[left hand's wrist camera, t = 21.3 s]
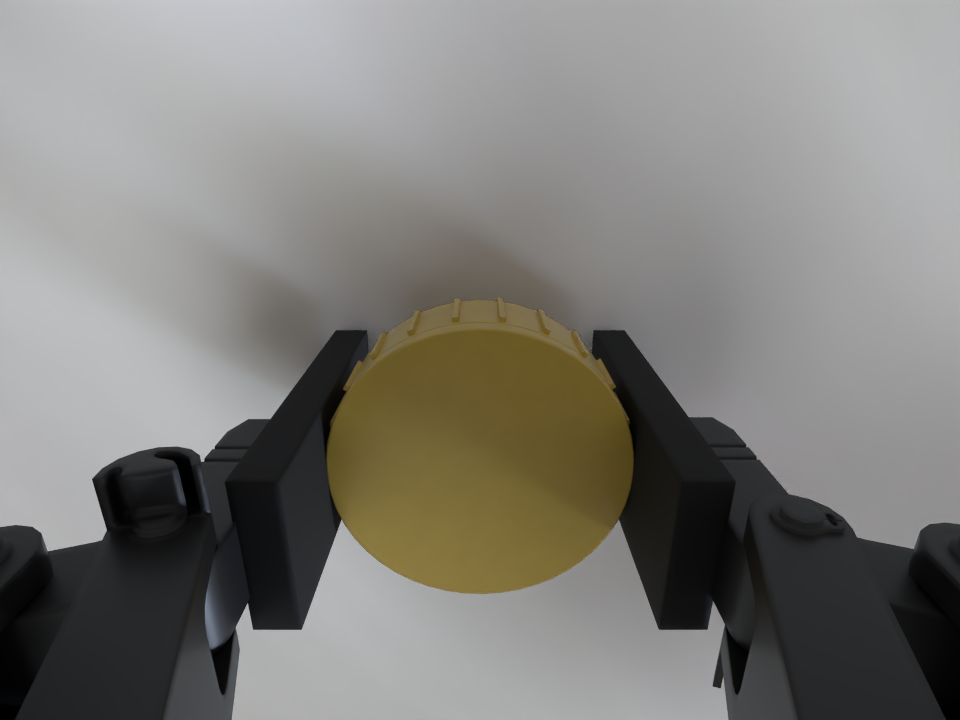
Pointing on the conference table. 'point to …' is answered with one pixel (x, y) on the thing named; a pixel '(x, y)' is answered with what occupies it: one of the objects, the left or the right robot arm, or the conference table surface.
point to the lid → (480, 449)
